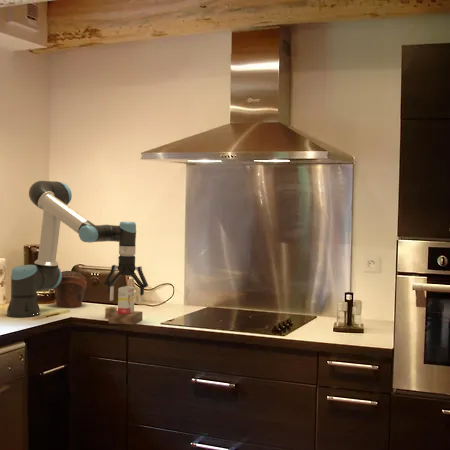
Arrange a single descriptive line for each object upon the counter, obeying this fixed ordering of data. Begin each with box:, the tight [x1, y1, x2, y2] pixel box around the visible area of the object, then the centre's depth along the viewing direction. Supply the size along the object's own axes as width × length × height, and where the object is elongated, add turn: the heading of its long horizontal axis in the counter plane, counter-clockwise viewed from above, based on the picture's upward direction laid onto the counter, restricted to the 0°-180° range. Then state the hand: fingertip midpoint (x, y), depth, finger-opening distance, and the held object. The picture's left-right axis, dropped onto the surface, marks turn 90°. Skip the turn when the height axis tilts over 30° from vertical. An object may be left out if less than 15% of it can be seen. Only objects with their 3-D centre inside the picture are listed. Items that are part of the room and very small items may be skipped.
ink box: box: [117, 285, 136, 314], centre depth 288 cm, size 9×5×12 cm, turn 165°
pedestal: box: [108, 310, 144, 326], centre depth 288 cm, size 12×12×4 cm
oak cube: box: [104, 306, 118, 320], centre depth 298 cm, size 5×5×5 cm
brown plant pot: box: [53, 270, 88, 309], centre depth 329 cm, size 18×20×18 cm
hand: (125, 301), depth 288 cm, fingers open, 13 cm apart
